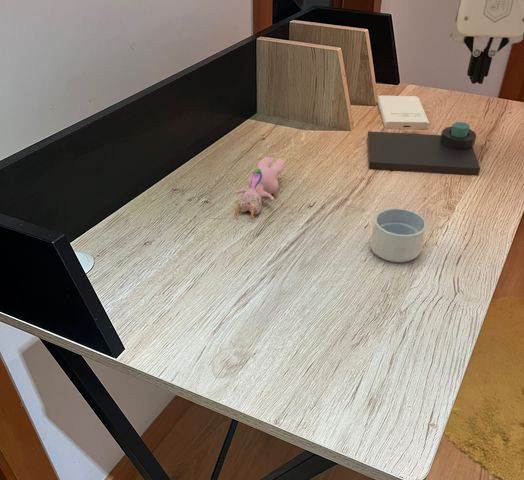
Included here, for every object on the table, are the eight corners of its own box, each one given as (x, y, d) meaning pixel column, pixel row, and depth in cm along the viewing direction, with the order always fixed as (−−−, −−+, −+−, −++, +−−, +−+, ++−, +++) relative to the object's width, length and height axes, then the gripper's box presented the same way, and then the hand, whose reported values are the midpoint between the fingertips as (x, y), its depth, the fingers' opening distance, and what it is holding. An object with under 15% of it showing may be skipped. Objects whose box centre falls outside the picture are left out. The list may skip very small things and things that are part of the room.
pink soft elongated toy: (264, 231, 84) (295, 171, 93) (262, 198, 80) (295, 138, 88) (225, 222, 86) (259, 164, 94) (221, 190, 81) (257, 132, 89)
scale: (468, 143, 103) (473, 127, 101) (480, 176, 94) (485, 159, 92) (366, 137, 104) (369, 121, 102) (368, 169, 96) (371, 152, 93)
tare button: (465, 132, 100) (468, 122, 99) (468, 139, 98) (470, 129, 97) (449, 131, 100) (452, 121, 99) (451, 138, 99) (454, 128, 97)
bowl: (417, 237, 81) (424, 209, 78) (422, 266, 76) (429, 237, 73) (369, 234, 82) (373, 206, 79) (370, 262, 77) (375, 234, 74)
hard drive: (417, 104, 116) (428, 130, 107) (376, 103, 116) (384, 129, 107) (418, 96, 115) (430, 121, 106) (378, 95, 115) (385, 120, 106)
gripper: (457, -52, 78) (431, 87, 90) (571, -51, 76) (528, 90, 89) (450, -62, 83) (426, 71, 96) (557, -61, 82) (518, 74, 94)
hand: (475, 80), depth 92 cm, fingers closed
